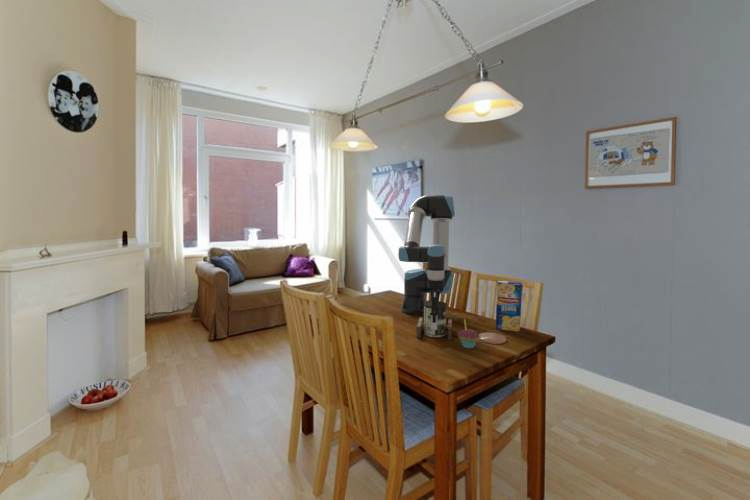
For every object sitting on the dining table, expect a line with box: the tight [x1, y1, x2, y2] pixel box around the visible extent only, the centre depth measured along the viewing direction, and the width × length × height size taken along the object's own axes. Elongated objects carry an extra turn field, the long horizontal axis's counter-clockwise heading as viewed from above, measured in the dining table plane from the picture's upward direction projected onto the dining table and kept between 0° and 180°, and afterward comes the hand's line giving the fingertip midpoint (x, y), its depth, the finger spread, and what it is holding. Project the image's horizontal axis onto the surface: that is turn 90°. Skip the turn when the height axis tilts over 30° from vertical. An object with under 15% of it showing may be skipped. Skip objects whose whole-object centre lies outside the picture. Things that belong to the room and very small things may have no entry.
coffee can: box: [423, 300, 447, 338], centre depth 166 cm, size 10×10×14 cm
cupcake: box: [457, 317, 480, 349], centre depth 150 cm, size 9×8×12 cm
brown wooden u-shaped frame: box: [416, 316, 453, 341], centre depth 166 cm, size 14×15×5 cm
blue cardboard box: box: [495, 280, 523, 332], centre depth 173 cm, size 7×11×22 cm, turn 69°
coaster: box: [478, 332, 507, 345], centre depth 159 cm, size 12×12×1 cm
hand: (434, 324), depth 166 cm, fingers open, 13 cm apart
